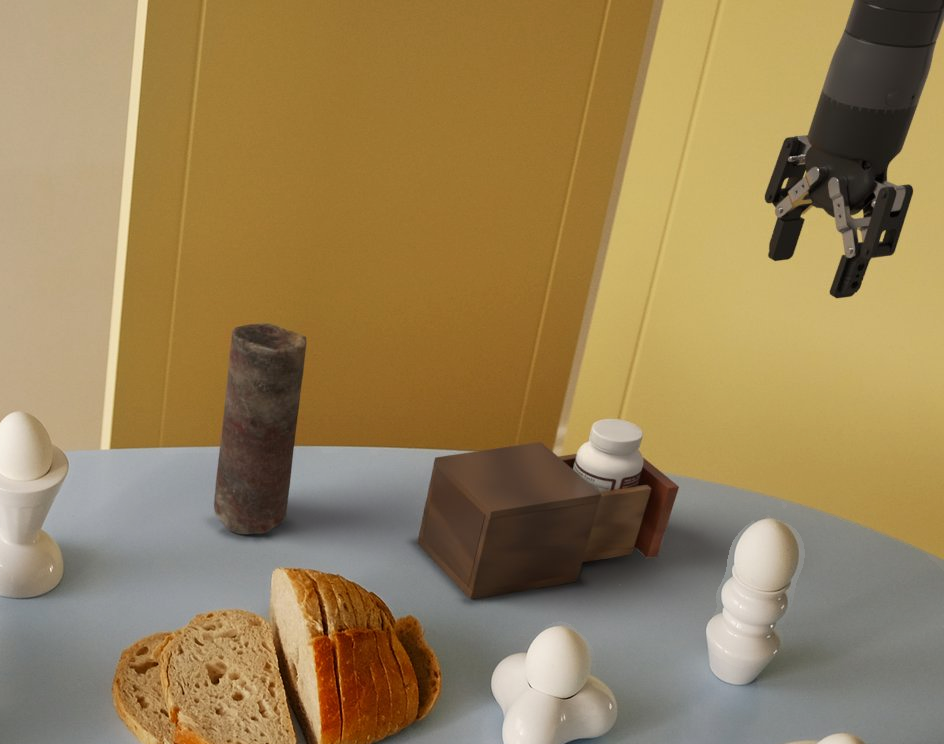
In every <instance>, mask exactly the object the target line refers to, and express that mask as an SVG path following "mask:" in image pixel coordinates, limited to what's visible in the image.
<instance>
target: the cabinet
mask: <svg viewBox="0 0 944 744" xmlns="http://www.w3.org/2000/svg"><path fill="white" fill-rule="evenodd" d="M558 456H559V455H557V454H556V453H555V452H553V451H552V449H550V448H549V447H548V446H546V445H545V444H544V443H543V442H541V441H537V442H530V443H523V444H518V445H511V446H505V447H504V446H503V447H497V448H490V449H484V450H477V451H470V452H462V453H457V454H456V453H455V454H450V455H449V454H448V455H442V456H435V457H434V460H433V466H432V471H431V475H430V480H429V485H428V490H427V495H426V499H425V504H424V509H423V514H422V519H421V524H420V528H419V533H418V537H417V542H416V544H417V545H418V546H419V547H420V548H421V549H422V550H423V552H425V553H426V555H428V556H429V558H431V560H433V562H434V563H435V564H436V565H437V566H438V567H439V568H440V569H441V570H442V572H444V573H445V574H446V575H447V576H448V577H449V579H450V580H452V582H453V583H454V584H455V585H456V586H457V587H458V588H459V589H460V590H461V591H462V592H463V593H464V594H465V595H466V597H468V599H469V600H475V599H481V598H487V597H492V596H499V595H504V594H512V593H516V592H517V593H518V592H523V591H528V590H535V589H541V588H546V587H552V586H558V585H564V584H570V583H577V582H578V580H579V576H580V575H579V574H580V572H581V569H582V565H583V563H584V562H583V558H584V555H585V551H586V547H587V544H588V540H589V537H590V533H591V530H592V526H593V522H594V519H595V515H596V512H597V508H598V505H599V501H600V498H601V493H599V492H598V491H597V490H596V489H595V488H594V487H592V486H591V485H590V484H589V483H588V482H587V481H586V480H584V479H583V478H582V477H581V476H580V475H579V474H577V473H576V472H575V471H574V470H573V469H572V468H571V467H569V466H568V465H567V464H566V463H565V462H564V461H562V460H561V459H560V458H559V457H558Z"/></svg>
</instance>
